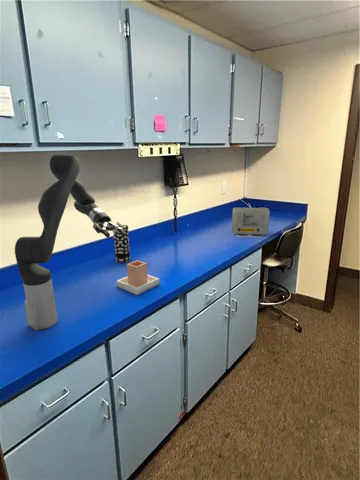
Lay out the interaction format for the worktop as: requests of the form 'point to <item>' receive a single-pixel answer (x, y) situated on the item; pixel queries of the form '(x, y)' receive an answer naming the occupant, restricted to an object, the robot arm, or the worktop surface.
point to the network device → (250, 221)
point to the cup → (137, 273)
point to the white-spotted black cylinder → (122, 246)
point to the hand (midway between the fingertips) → (117, 235)
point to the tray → (138, 290)
